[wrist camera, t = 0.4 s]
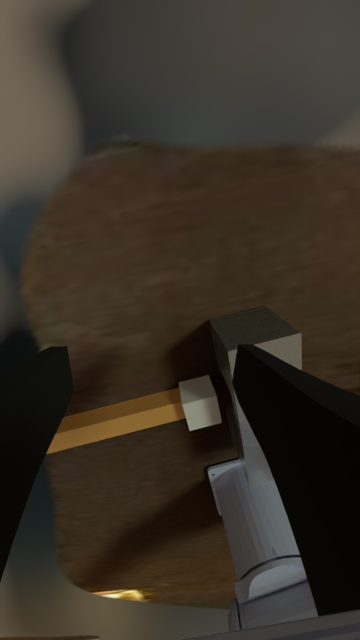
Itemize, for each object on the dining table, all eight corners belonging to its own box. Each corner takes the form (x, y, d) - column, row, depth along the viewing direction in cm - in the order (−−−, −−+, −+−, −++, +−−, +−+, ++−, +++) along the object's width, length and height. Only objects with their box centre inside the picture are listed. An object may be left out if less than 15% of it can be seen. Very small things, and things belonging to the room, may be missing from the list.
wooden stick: (50, 441, 24) (37, 470, 21) (35, 418, 22) (19, 446, 20) (213, 399, 24) (221, 422, 21) (208, 374, 23) (216, 395, 20)
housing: (273, 425, 26) (302, 472, 21) (230, 436, 26) (249, 486, 21) (264, 305, 20) (301, 332, 15) (208, 319, 20) (227, 351, 15)
